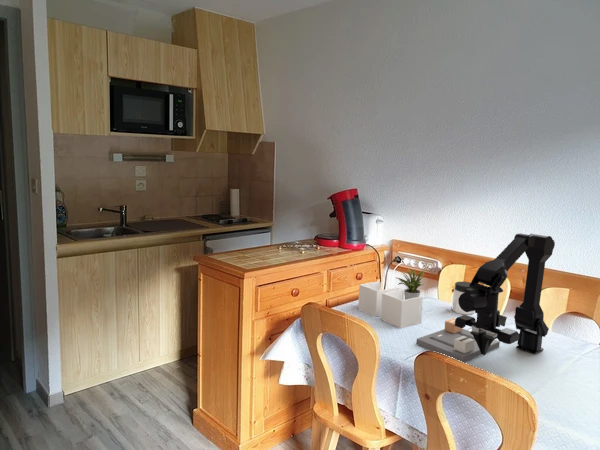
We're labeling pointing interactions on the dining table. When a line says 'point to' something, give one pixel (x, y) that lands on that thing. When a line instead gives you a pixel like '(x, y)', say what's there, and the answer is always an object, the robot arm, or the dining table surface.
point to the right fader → (452, 326)
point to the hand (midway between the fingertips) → (483, 354)
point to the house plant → (411, 285)
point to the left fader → (464, 344)
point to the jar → (458, 291)
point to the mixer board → (452, 344)
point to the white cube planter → (390, 305)
